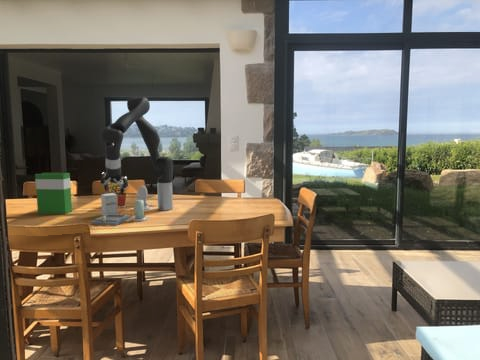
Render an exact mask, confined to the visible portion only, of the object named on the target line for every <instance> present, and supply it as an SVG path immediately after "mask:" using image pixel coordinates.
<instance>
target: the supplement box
mask: <svg viewBox="0 0 480 360" xmlns="http://www.w3.org/2000/svg"><path fill="white" fill-rule="evenodd" d="M100 196H101V197H100V201H101V216H104V215H106V214H119V209H118V207H119V206H118V204H119V203H118V193H117V194H116V193H114V192H113V193H112V192H111V193H104V194H103V193H102V194H100Z"/></svg>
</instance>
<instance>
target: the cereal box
mask: <svg viewBox="0 0 480 360" xmlns="http://www.w3.org/2000/svg"><path fill="white" fill-rule="evenodd" d="M34 177H35V190H36V191H35V192H36V203H37V204H36V205H37V206H36V207H37V214H42V215H45V214H46V215H67V214H70V213H72V212H73V206H72V191H71V174H70V172H41V173H35V174H34Z"/></svg>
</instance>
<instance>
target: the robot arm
mask: <svg viewBox="0 0 480 360" xmlns="http://www.w3.org/2000/svg"><path fill="white" fill-rule="evenodd" d="M150 105H151V104H150V100H149V99H148V98H147V97H143V96H139V97H131V98H129V99H127V102H126V107H127V110H128V111H127V112H126V113H123V114H122V115H120V116H119V117H118V118H117V119H116V120H115V122H112V123H111V124H108V125H107V126H106V127H104V128H103V129H102V130H101V132H100V138H101V140H102V141H103V142H106V143H110V144H111V145H107V146H106V147H105V171H103V172H101V173H100V176H99V177H100V184H103V185H104V190H105V192H108V191H109V183H111V184H112V183H114V184H117V186H119V188H120V191H119V192H120V195H123V194H124V193H125V189H126V188H127V187H128V186H129V182H128V176H127V175H125V176H123V175H122V161H121V147H122V144H123V140H124V134H125V133H126V132H127V131H128V130H129V129H130V127H131V126H132V125H133V124H134V123H135V124H136V126H137V128H138V130H139V133H140V135H141V137H142V139H143V142H144V144H145V146H146V149H147V151H148V153H149V155H150V156H149V157H150V159H151V162H152V164H153V165H152V166H153V167H154V169H155V171H158V172H163V175H161V176H160V177H159V176H158V177H157V179H156V183H157V184H156V186H157V188H156V189H157V210H159V211H172V210H173V209H174V208H173V207H174V205H173V204H174V203H173V200H174V199H173V178H174V177H173V176H174V173H173V172H174V161H173V158H172V157H171V156H161V155H160V153H159V146H160V140H161V139H160V135H159V133H158V130H157V129H156V127H155V126H154V125H152V124H151V122H149V121H148V120H147V119H146V118H145V117H144V116H145V115H146V114H148V112H149V110H150V108H151V106H150ZM105 177H106V178H107V179H106V178H105Z"/></svg>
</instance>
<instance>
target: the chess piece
mask: <svg viewBox="0 0 480 360" xmlns="http://www.w3.org/2000/svg"><path fill="white" fill-rule="evenodd" d="M134 194H135V195H134V196H135V197H136V198H138V199H137V200H144V211H149V210H150V209H151V208H150V206H149V205H148V202H147V199H148V189H147V187H146V186H145V185H141V186H140V187H138V190H137V192H136V193H134ZM133 210H134V211H135V206H134V207H133Z"/></svg>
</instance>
